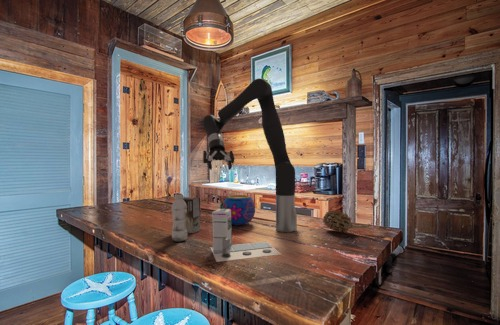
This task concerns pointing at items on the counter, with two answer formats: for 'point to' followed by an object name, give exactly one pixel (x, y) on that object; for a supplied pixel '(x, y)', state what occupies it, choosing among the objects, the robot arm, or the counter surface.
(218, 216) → the syrup box
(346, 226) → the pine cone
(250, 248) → the board
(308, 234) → the counter surface
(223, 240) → the peg
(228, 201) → the ceramic pot
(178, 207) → the plastic bottle
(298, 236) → the counter surface
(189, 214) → the coffee box
